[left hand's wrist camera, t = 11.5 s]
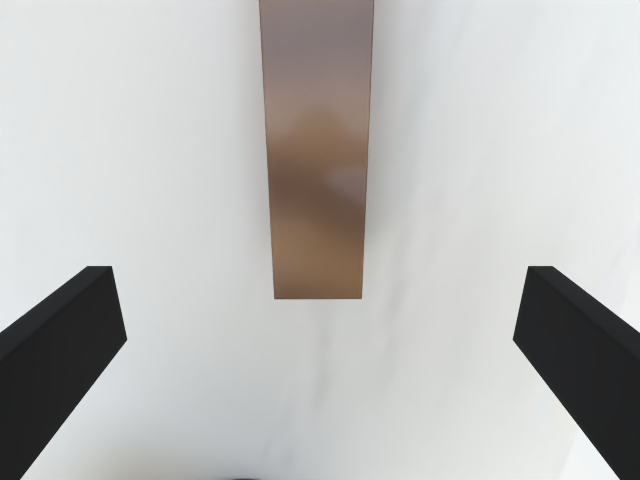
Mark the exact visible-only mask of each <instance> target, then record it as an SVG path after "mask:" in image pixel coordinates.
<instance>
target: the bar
mask: <svg viewBox="0 0 640 480" xmlns="http://www.w3.org/2000/svg"><path fill="white" fill-rule="evenodd" d="M259 8H260V27H261V47H262V67H263V86H264V106H265V125H266V145H267V165H268V184H269V204H270V224H271V243H272V263H273V282H274V299H362V282H363V258H364V234H365V210H366V185H367V161H368V137H369V113H370V89H371V64H372V40H373V16H374V0H259Z"/></svg>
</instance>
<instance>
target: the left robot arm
mask: <svg viewBox="0 0 640 480" xmlns="http://www.w3.org/2000/svg"><path fill="white" fill-rule="evenodd" d="M126 341H127V336H126V331H125V327H124V322H123V317H122V312H121V308H120V303H119V298H118V294H117V289H116V284H115V279H114V275H113V270H112V266H87V267H86V268H84V269H83V270H82V271H80V272H79V273H78V274H77V275H75V276H74V277H73V278H71V279H70V280H69V281H67V282H66V283H65V284H63V285H62V286H61V287H60V288H58V289H57V290H56V291H54V292H53V293H52V294H50V295H49V296H48V297H46V298H45V299H44V300H43V301H41V302H40V303H39V304H37V305H36V306H35V307H33V308H32V309H31V310H29V311H28V312H27V313H26V314H24V315H23V316H22V317H20V318H19V319H18V320H16V321H15V322H14V323H12V324H11V325H10V326H9V327H7V328H6V329H5V330H3V331H2V332H1V333H0V480H20V479H21V478H22V476H23V475H24V474H25V473H26V471H27V470H28V469H29V467H30V466H31V465H32V463H33V462H34V461H35V459H36V458H37V457H38V456H39V454H40V453H41V452H42V450H43V449H44V448H45V446H46V445H47V444H48V443H49V441H50V440H51V439H52V437H53V436H54V435H55V433H56V432H57V431H58V429H59V428H60V427H61V426H62V424H63V423H64V422H65V420H66V419H67V418H68V416H69V415H70V414H71V413H72V411H73V410H74V409H75V407H76V406H77V405H78V403H79V402H80V401H81V399H82V398H83V397H84V396H85V394H86V393H87V392H88V390H89V389H90V388H91V386H92V385H93V384H94V382H95V381H96V380H97V379H98V377H99V376H100V375H101V373H102V372H103V371H104V369H105V368H106V367H107V366H108V364H109V363H110V362H111V360H112V359H113V358H114V356H115V355H116V354H117V352H118V351H119V350H120V349H121V347H122V346H123V345H124V343H125V342H126ZM513 341H514V342H515V343H516V345H517V346H518V347H519V349H520V350H521V351H522V352H523V354H524V355H525V356H526V358H527V359H528V360H529V362H530V363H531V364H532V366H533V367H534V368H535V369H536V371H537V372H538V373H539V375H540V376H541V377H542V379H543V380H544V381H545V382H546V384H547V385H548V386H549V388H550V389H551V390H552V392H553V393H554V394H555V396H556V397H557V398H558V399H559V401H560V402H561V403H562V405H563V406H564V407H565V409H566V410H567V411H568V413H569V414H570V415H571V416H572V418H573V419H574V420H575V422H576V423H577V424H578V426H579V427H580V428H581V429H582V431H583V432H584V433H585V435H586V436H587V437H588V439H589V440H590V441H591V443H592V444H593V445H594V446H595V448H596V449H597V450H598V452H599V453H600V454H601V456H602V457H603V458H604V459H605V461H606V462H607V463H608V465H609V466H610V467H611V469H612V470H613V471H614V473H615V474H616V475H617V476H618V478H619V479H620V480H640V333H639V332H638V331H637V330H635V329H634V328H633V327H631V326H630V325H629V324H628V323H626V322H625V321H623V320H622V319H621V318H620V317H618V316H617V315H616V314H614V313H613V312H612V311H611V310H609V309H608V308H607V307H605V306H604V305H603V304H601V303H600V302H599V301H597V300H596V299H595V298H594V297H592V296H591V295H590V294H588V293H587V292H586V291H584V290H583V289H582V288H580V287H579V286H578V285H577V284H575V283H574V282H573V281H571V280H570V279H569V278H567V277H566V276H565V275H563V274H562V273H561V272H560V271H558V270H557V269H556V268H554V267H553V266H528V270H527V275H526V279H525V284H524V289H523V294H522V298H521V303H520V308H519V312H518V317H517V322H516V327H515V331H514V336H513Z"/></svg>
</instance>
